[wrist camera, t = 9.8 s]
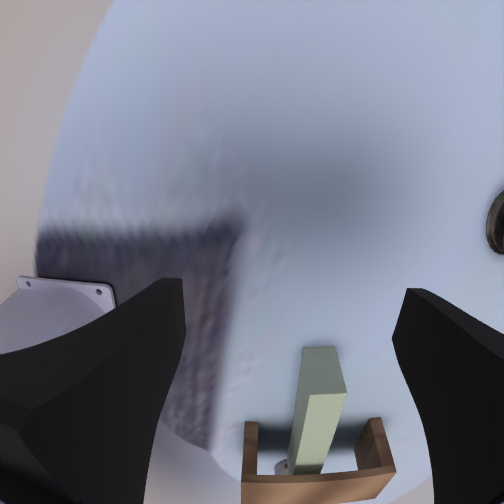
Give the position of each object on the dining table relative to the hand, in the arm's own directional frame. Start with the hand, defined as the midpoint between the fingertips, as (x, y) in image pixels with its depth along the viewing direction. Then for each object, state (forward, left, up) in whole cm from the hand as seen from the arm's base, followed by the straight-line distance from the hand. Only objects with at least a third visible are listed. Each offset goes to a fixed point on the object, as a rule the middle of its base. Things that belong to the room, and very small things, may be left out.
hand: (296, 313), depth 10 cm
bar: (+4, -18, -10) cm, 21 cm away
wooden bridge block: (+5, -22, -10) cm, 25 cm away
